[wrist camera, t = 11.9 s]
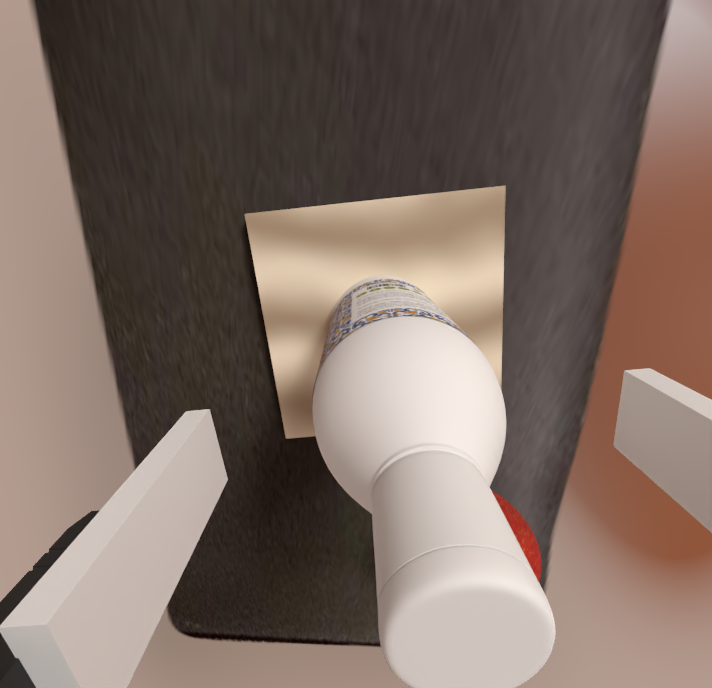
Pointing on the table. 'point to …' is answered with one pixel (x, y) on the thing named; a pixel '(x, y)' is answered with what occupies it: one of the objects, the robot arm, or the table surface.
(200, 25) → the table surface
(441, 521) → the bath foam
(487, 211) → the birch board
